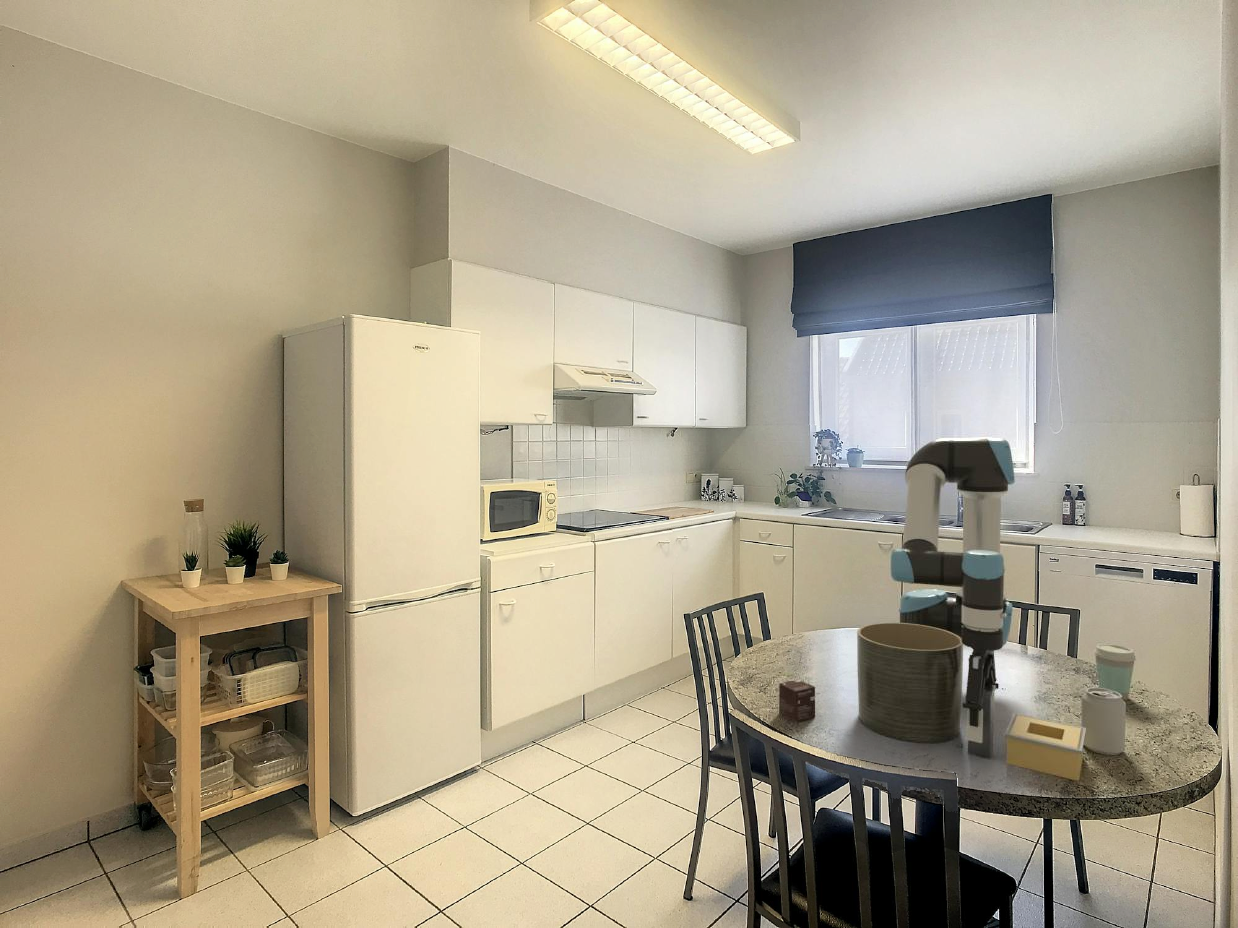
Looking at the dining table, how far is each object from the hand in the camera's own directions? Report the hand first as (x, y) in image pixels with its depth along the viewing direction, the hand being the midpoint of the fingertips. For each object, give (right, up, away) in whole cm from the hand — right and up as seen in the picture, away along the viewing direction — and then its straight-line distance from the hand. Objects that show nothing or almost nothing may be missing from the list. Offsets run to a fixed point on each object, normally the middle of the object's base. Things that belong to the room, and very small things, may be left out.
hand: (980, 729), depth 142 cm
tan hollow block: (+11, -5, -3) cm, 13 cm away
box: (-33, -5, +20) cm, 39 cm away
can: (+26, -5, +2) cm, 27 cm away
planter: (-9, -5, +15) cm, 18 cm away
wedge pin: (0, -5, 0) cm, 5 cm away
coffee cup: (+49, -4, +31) cm, 58 cm away
